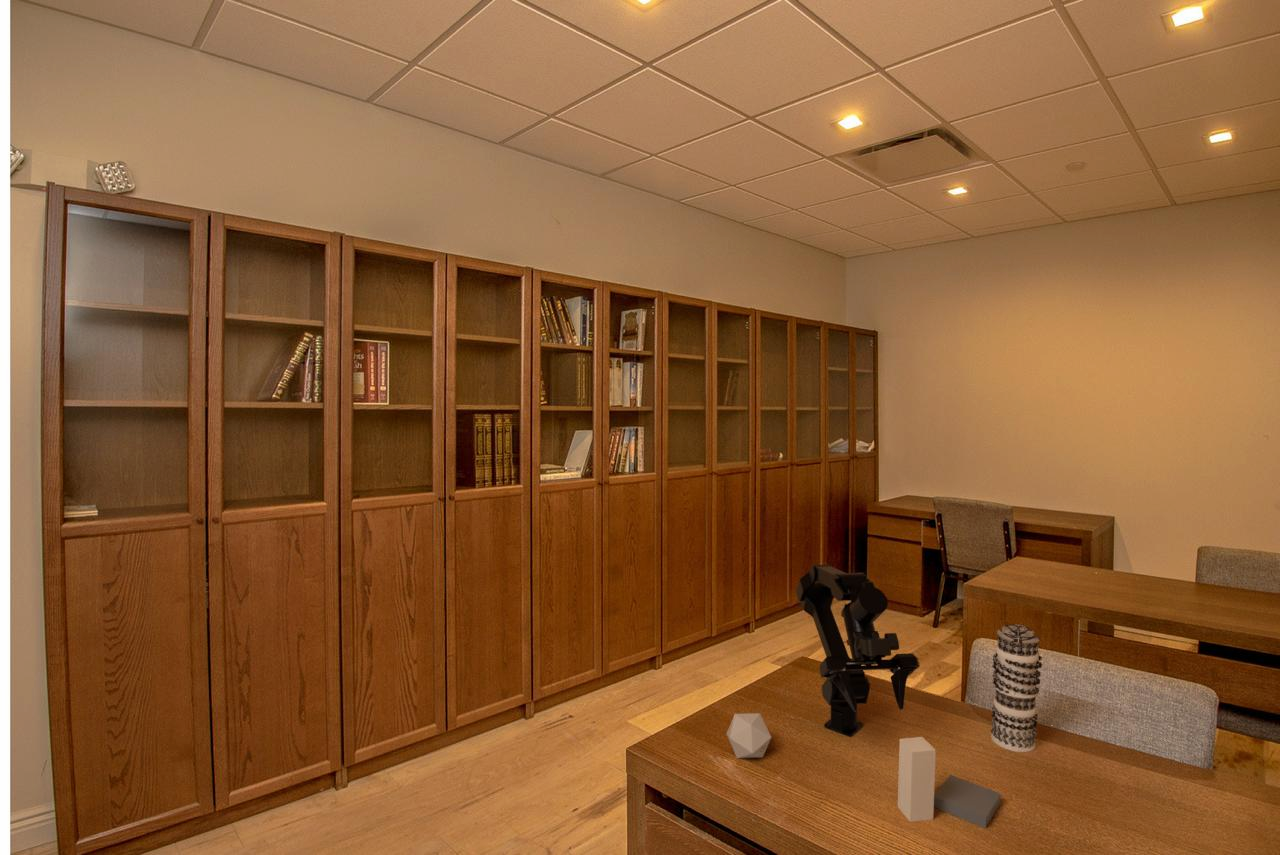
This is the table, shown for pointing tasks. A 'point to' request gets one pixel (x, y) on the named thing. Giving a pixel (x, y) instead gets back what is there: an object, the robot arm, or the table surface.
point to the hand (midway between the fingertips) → (878, 710)
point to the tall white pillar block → (916, 779)
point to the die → (748, 735)
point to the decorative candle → (1015, 688)
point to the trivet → (967, 800)
